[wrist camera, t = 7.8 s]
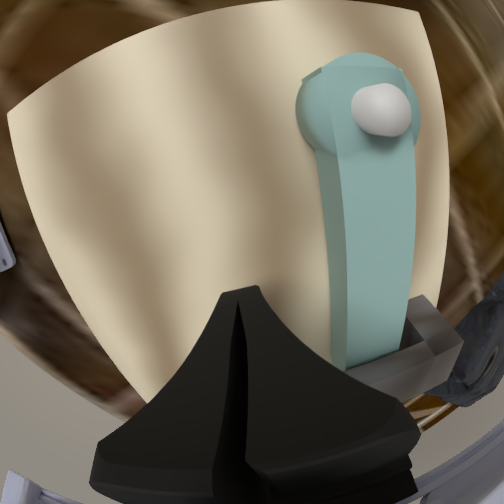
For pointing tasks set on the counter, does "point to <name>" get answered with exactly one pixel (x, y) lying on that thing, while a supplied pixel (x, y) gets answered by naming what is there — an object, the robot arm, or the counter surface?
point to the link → (364, 197)
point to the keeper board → (222, 183)
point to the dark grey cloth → (477, 352)
